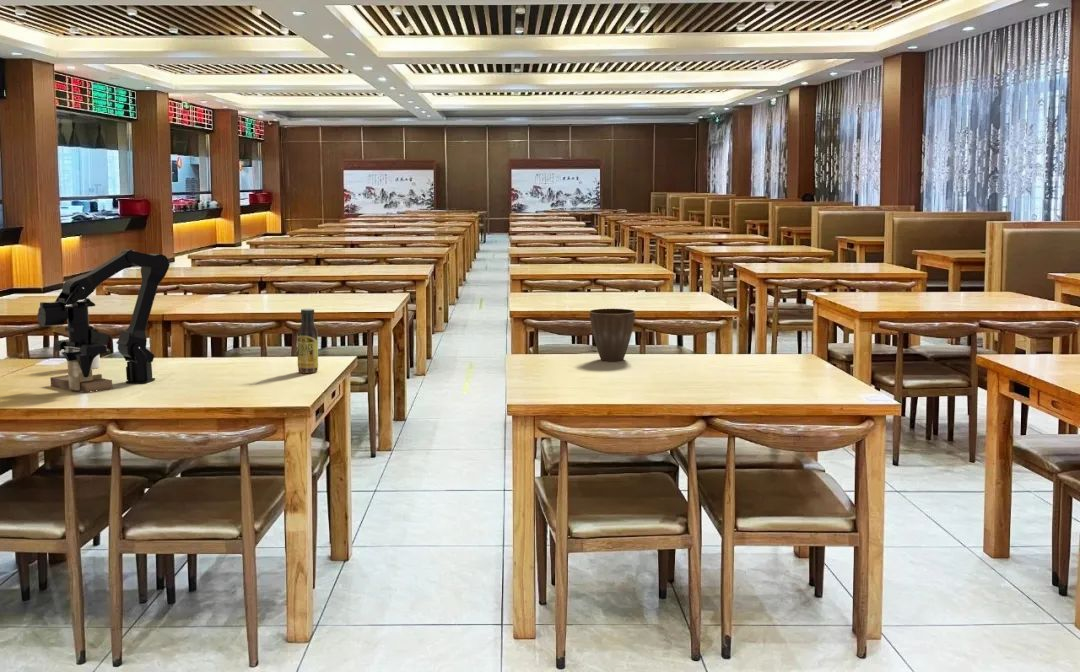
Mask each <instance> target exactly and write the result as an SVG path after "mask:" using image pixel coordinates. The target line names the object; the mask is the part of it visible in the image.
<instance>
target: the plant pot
mask: <svg viewBox="0 0 1080 672" xmlns="http://www.w3.org/2000/svg"><path fill="white" fill-rule="evenodd" d="M588 312H589V319H590V326H591V331H592V336H593V339H594V342H595V347H596V349H597V352H598V356H599V359H600V360H601V361H605V362H620V361H623V360H624V359H625V356H626V353H627V352H628V351H627V350H628V348H629V344H630V342H631V338H632V333H633V329H634V324H635V317H636V310H634V309H629V308H627V309H626V308H596V309H595V308H594V309H591V310H589V311H588Z"/></svg>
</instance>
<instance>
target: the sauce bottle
mask: <svg viewBox="0 0 1080 672" xmlns="http://www.w3.org/2000/svg"><path fill="white" fill-rule="evenodd" d="M300 315H301V321H300V322H301V324H300V328H299V329H298V331H297V332H298V333H297V369H298V370H297V371H298V372H299V373H300V374H313V373H317V372H318V368H319V339H318V337H319V335H318V334H319V333H318V329H317V327H316V326H315V318H314V315H315V309H314V308H302V309H300Z"/></svg>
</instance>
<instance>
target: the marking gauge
mask: <svg viewBox="0 0 1080 672" xmlns="http://www.w3.org/2000/svg"><path fill="white" fill-rule="evenodd" d="M66 361H67V360H66ZM67 375H68V376H69V389H68V390H70V389H72V390H71V391H75V390H80V383H79V382H85V381H91V380H93V379H98V378H103V374H101V373H98V374H93V369H92V365H91V369H90V373H89V376H88V377H84V375H83V373H82V370H81V368H80V365H79V362H78V360H73V361H67Z"/></svg>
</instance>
